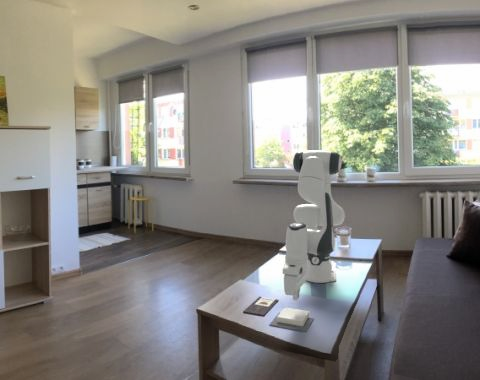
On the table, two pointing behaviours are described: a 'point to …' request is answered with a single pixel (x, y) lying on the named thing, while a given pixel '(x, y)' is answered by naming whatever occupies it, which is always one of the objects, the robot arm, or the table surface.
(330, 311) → the table surface
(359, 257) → the table surface
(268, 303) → the chocolate bar
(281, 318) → the tile
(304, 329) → the mat
